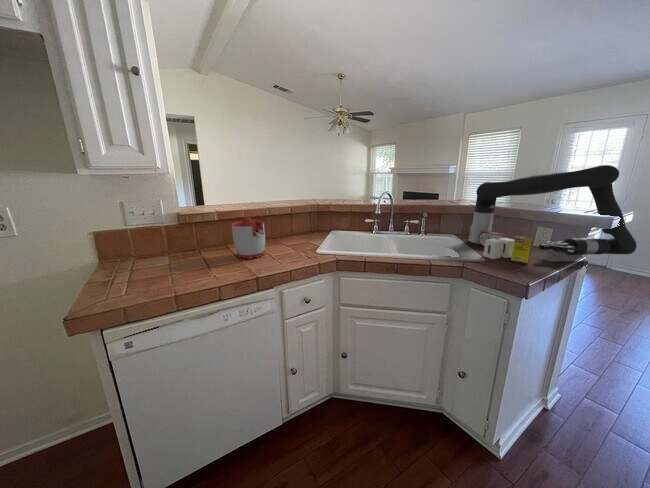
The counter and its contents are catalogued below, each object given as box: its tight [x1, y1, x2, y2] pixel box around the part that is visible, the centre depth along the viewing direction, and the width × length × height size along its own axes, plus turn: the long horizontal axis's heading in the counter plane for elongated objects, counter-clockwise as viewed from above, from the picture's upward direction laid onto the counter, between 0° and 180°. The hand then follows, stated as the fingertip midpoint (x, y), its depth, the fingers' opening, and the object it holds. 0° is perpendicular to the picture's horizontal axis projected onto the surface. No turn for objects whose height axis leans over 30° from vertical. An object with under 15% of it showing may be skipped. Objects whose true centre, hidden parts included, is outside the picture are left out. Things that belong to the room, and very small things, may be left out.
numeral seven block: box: [498, 238, 515, 259], centre depth 120 cm, size 5×5×8 cm
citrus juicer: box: [230, 215, 266, 258], centre depth 125 cm, size 16×17×20 cm
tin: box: [479, 230, 511, 247], centre depth 133 cm, size 15×3×8 cm, turn 32°
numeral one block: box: [482, 239, 504, 260], centre depth 119 cm, size 5×5×8 cm
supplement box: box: [510, 235, 533, 265], centre depth 112 cm, size 6×6×11 cm
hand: (540, 247), depth 112 cm, fingers closed
